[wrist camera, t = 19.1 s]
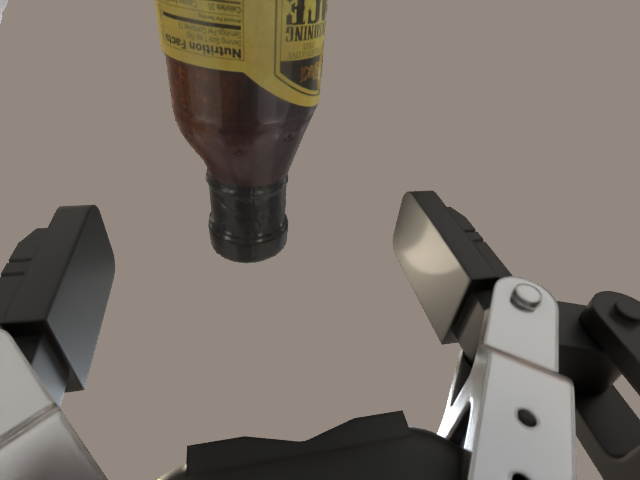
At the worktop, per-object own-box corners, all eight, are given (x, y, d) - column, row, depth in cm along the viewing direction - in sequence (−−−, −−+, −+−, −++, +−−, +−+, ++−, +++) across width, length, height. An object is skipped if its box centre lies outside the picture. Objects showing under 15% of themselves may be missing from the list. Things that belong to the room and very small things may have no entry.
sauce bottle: (349, -336, 12) (308, 204, 25) (139, -366, 12) (206, 198, 24) (379, -510, 7) (308, 280, 20) (11, -576, 7) (179, 274, 19)
